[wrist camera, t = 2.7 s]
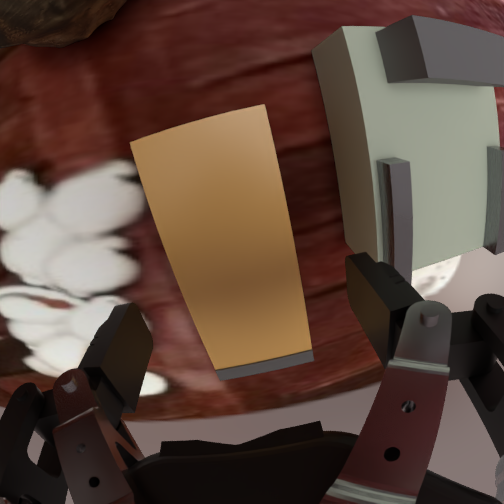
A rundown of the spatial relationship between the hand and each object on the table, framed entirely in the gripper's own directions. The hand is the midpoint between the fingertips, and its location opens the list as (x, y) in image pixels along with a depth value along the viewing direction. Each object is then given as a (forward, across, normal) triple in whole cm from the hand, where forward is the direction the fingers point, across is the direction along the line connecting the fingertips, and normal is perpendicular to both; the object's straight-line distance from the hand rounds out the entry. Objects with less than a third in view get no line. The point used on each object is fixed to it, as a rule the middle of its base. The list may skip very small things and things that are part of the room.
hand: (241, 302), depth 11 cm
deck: (+8, -11, -4) cm, 14 cm away
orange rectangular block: (+8, 0, -1) cm, 8 cm away
